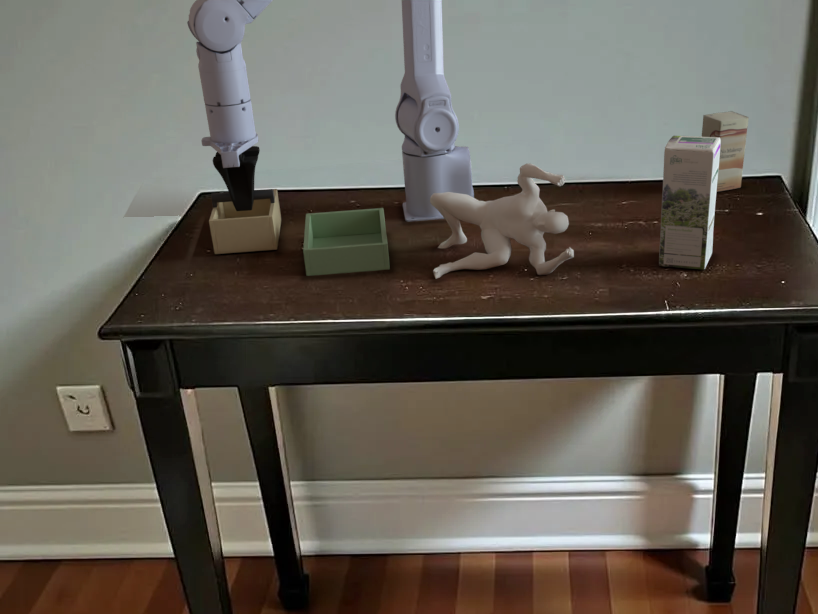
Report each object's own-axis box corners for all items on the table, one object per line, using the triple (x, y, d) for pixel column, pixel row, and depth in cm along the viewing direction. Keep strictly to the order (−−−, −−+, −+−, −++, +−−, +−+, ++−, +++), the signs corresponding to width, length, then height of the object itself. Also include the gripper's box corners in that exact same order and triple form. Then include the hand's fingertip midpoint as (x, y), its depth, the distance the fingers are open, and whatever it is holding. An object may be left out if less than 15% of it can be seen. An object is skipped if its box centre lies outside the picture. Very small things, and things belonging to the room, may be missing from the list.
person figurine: (407, 189, 123) (561, 157, 120) (423, 181, 135) (563, 152, 132) (431, 300, 127) (581, 271, 125) (445, 282, 139) (581, 256, 136)
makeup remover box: (713, 193, 152) (719, 121, 147) (696, 185, 156) (700, 114, 150) (743, 187, 154) (750, 115, 149) (725, 180, 157) (731, 109, 152)
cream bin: (281, 220, 148) (275, 176, 145) (277, 249, 138) (270, 203, 135) (223, 224, 147) (215, 180, 144) (214, 254, 137) (206, 207, 134)
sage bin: (385, 234, 143) (383, 207, 141) (390, 271, 131) (387, 243, 129) (309, 240, 142) (305, 213, 140) (306, 278, 130) (303, 250, 128)
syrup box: (712, 254, 132) (722, 135, 124) (705, 271, 127) (714, 148, 119) (666, 251, 133) (673, 132, 126) (657, 267, 129) (663, 146, 121)
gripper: (201, 90, 139) (219, 193, 146) (188, 116, 127) (208, 227, 134) (256, 87, 140) (271, 190, 147) (248, 112, 127) (265, 223, 135)
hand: (244, 207), depth 141 cm, fingers closed on cream bin
